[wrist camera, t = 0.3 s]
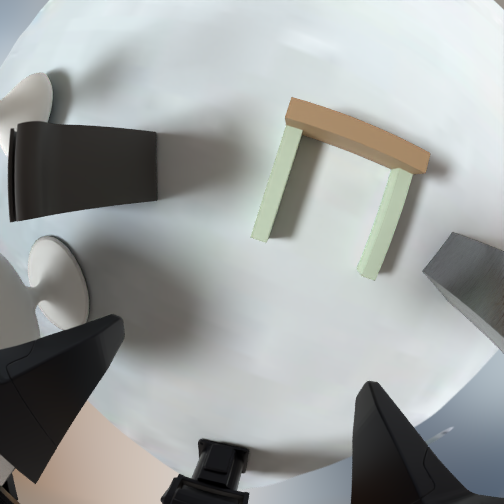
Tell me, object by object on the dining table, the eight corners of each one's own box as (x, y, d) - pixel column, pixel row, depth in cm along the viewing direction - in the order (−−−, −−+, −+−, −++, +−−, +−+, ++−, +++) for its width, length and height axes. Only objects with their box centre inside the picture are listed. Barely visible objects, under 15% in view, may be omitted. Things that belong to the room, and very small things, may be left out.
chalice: (51, 202, 24) (-59, 224, 10) (117, 303, 26) (11, 380, 11) (17, 270, 28) (-61, 304, 14) (70, 352, 29) (-2, 411, 15)
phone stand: (158, 132, 21) (55, 102, 10) (158, 201, 22) (53, 218, 11) (83, 148, 22) (-13, 143, 11) (84, 207, 24) (-13, 225, 12)
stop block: (447, 300, 20) (524, 375, 8) (422, 271, 20) (508, 342, 8) (475, 264, 19) (564, 317, 7) (452, 232, 19) (553, 273, 7)
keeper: (369, 273, 21) (383, 291, 17) (254, 233, 22) (244, 243, 18) (408, 158, 18) (430, 153, 15) (292, 113, 19) (291, 96, 15)
